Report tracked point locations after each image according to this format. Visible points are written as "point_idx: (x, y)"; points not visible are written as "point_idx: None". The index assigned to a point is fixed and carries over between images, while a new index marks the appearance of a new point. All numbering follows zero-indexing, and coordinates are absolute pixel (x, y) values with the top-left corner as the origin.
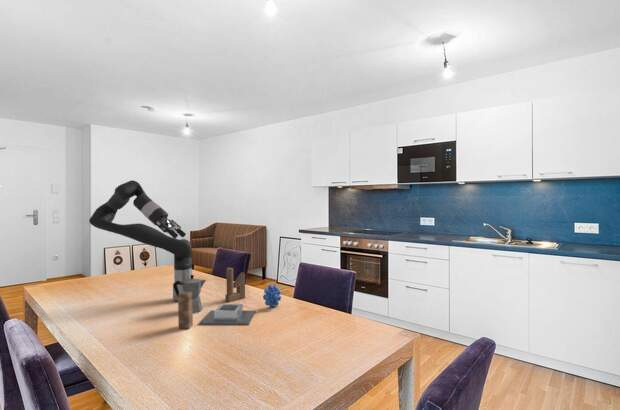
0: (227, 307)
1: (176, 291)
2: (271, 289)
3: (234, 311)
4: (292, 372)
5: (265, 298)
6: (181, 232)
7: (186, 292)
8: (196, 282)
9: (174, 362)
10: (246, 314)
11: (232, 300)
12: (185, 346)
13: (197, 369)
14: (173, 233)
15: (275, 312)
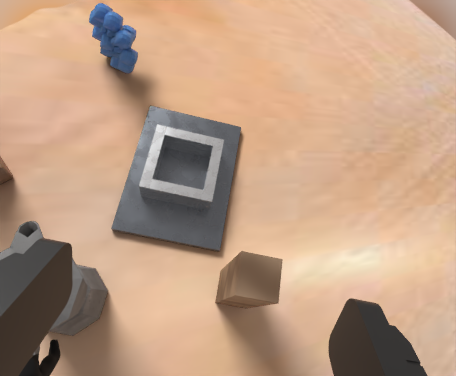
0: (156, 168)
1: (53, 368)
2: (122, 24)
3: (222, 146)
4: (436, 86)
5: (136, 59)
6: (24, 313)
7: (252, 273)
8: (72, 259)
9: (426, 271)
10: (178, 128)
11: (5, 165)
12: (355, 263)
13: (445, 222)
14: (422, 372)
15: (161, 66)
